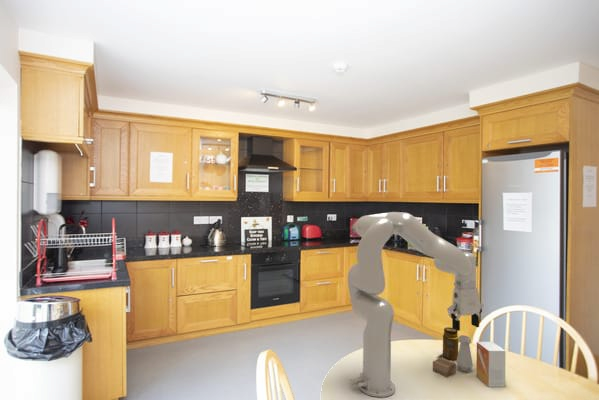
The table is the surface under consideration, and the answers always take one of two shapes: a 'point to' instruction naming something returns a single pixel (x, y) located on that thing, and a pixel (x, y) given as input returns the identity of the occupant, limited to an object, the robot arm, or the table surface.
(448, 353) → the condiment
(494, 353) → the small box
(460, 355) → the salt shaker
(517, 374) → the table surface
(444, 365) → the walnut block
